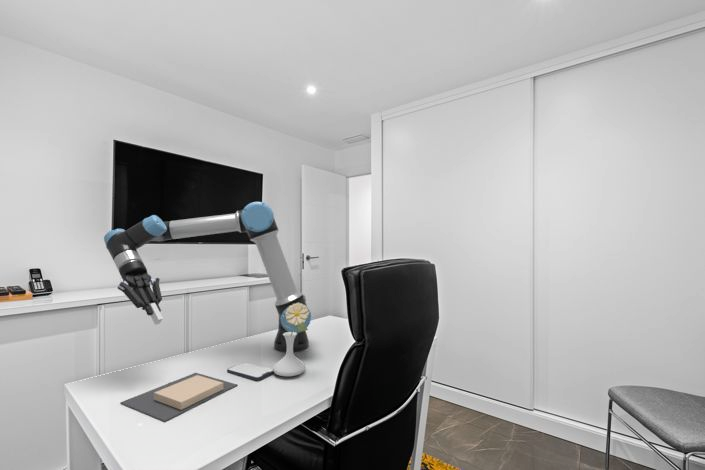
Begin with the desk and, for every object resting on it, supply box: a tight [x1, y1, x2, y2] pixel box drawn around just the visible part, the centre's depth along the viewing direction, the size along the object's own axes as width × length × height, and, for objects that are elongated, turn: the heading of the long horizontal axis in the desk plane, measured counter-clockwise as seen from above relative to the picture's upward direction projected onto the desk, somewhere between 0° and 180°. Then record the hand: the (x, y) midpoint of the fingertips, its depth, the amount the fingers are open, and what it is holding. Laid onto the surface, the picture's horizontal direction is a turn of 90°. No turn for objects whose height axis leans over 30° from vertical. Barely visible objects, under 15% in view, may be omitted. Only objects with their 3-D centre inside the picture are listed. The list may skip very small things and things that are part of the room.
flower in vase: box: [272, 303, 309, 377], centre depth 114 cm, size 13×11×25 cm
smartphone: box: [226, 362, 276, 382], centre depth 114 cm, size 9×2×16 cm
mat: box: [120, 372, 238, 423], centre depth 97 cm, size 24×20×1 cm
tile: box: [154, 375, 223, 410], centre depth 96 cm, size 14×2×12 cm
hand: (159, 321), depth 104 cm, fingers closed
